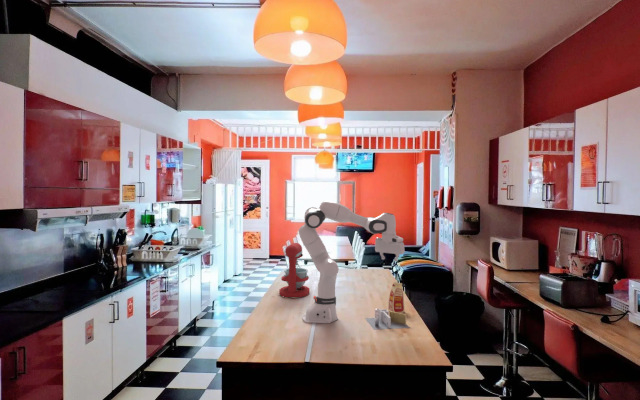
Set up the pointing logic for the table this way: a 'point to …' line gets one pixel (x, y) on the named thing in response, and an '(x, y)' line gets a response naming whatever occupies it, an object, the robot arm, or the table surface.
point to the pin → (376, 317)
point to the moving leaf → (397, 317)
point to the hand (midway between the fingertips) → (389, 260)
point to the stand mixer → (294, 274)
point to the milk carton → (396, 298)
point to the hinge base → (385, 321)
